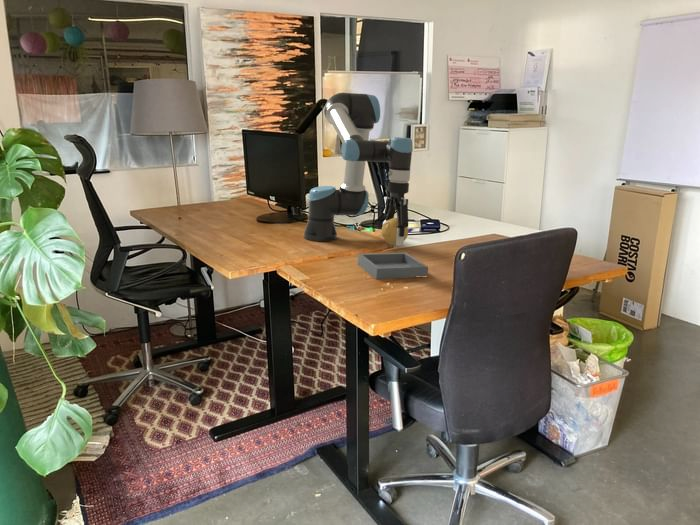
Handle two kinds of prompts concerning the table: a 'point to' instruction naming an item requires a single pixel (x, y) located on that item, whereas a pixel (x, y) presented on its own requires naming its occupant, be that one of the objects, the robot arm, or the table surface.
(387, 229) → the stress ball
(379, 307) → the table surface
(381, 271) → the tray
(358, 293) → the table surface
